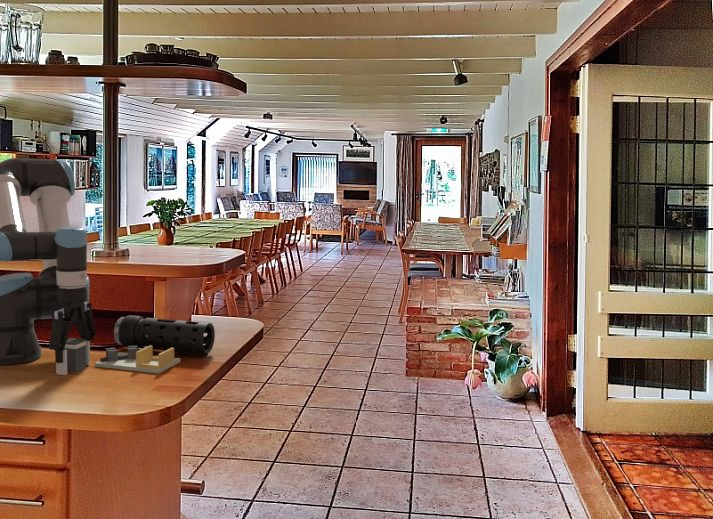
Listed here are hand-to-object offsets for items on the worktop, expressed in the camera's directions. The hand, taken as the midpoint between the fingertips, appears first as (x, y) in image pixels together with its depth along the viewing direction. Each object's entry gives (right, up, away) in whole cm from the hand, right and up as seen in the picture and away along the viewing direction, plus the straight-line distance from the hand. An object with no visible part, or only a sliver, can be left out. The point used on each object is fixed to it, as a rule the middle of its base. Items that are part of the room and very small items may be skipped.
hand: (73, 369), depth 187 cm
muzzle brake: (+19, +1, +20) cm, 28 cm away
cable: (+11, +1, +7) cm, 13 cm away
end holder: (+21, 0, +5) cm, 21 cm away
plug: (0, 0, 0) cm, 0 cm away
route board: (+15, 0, +7) cm, 17 cm away
